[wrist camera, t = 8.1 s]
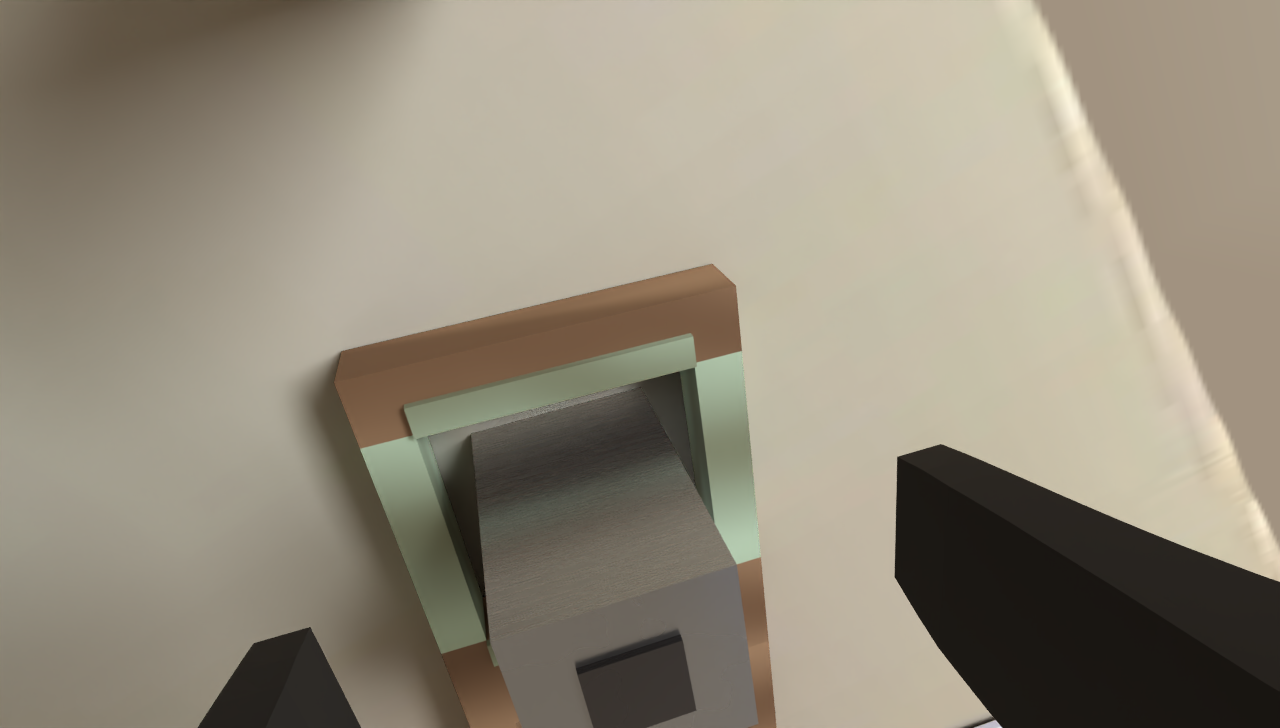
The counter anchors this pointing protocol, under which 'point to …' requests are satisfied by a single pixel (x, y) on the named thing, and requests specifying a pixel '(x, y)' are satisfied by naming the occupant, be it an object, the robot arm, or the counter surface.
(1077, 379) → the counter surface
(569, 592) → the block
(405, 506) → the tray
